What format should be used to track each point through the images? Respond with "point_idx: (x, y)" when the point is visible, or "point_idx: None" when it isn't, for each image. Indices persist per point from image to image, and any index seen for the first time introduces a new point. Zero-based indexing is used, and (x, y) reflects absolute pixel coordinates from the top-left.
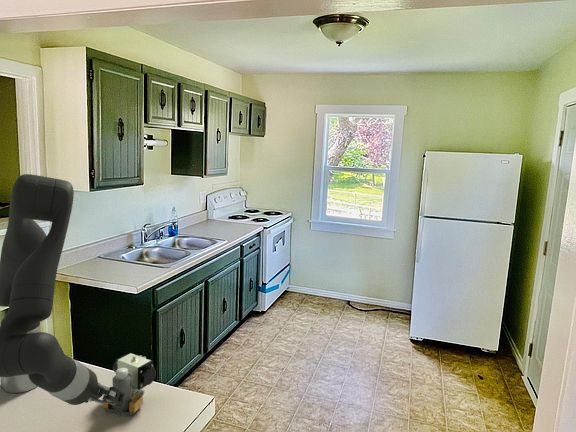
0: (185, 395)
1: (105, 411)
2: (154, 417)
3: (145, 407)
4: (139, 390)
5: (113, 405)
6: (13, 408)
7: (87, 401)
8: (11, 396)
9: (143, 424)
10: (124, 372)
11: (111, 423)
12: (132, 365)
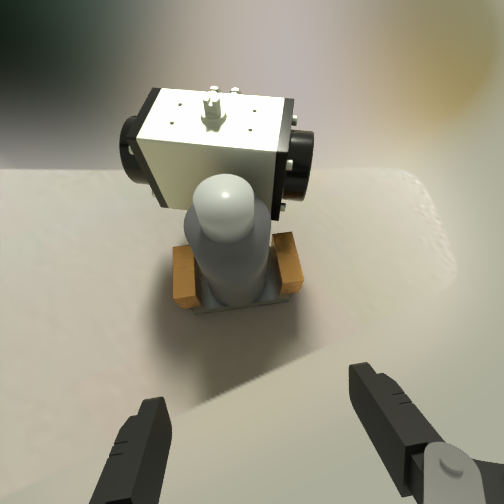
0: (351, 174)
1: (196, 313)
2: (353, 276)
3: None
4: None
5: (377, 451)
6: None
7: (169, 433)
8: None
9: (350, 316)
10: (248, 205)
11: (254, 354)
12: (236, 147)
